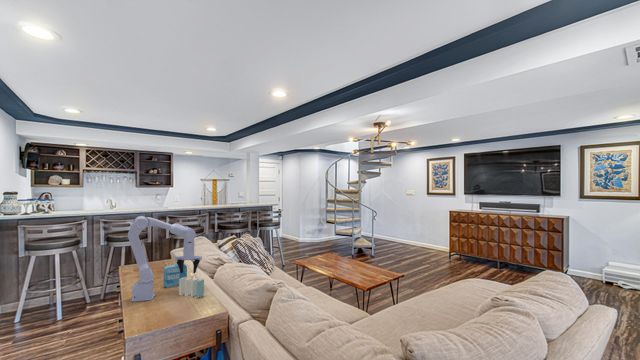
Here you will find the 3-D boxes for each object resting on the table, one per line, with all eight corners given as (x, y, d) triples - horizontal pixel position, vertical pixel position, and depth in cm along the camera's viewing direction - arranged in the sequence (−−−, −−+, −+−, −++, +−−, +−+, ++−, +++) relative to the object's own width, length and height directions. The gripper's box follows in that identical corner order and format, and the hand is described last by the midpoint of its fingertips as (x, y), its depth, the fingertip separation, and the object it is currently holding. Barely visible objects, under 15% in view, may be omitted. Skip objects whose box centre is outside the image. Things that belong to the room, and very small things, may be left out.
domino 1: (178, 295, 156) (179, 279, 156) (184, 293, 160) (184, 276, 160) (180, 295, 156) (181, 279, 156) (186, 293, 159) (186, 277, 160)
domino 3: (190, 297, 153) (191, 280, 154) (195, 294, 157) (196, 278, 158) (192, 297, 153) (192, 280, 153) (197, 294, 157) (198, 278, 157)
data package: (165, 288, 167) (165, 268, 168) (163, 286, 170) (163, 266, 171) (186, 284, 175) (187, 264, 176) (184, 282, 178) (184, 263, 179)
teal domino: (196, 298, 152) (197, 281, 153) (201, 295, 156) (202, 279, 156) (198, 298, 152) (198, 281, 152) (203, 295, 156) (204, 279, 156)
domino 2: (184, 296, 155) (185, 279, 155) (190, 293, 158) (190, 277, 159) (186, 296, 154) (186, 279, 155) (191, 294, 158) (192, 277, 158)
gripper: (172, 250, 159) (172, 274, 159) (199, 250, 160) (198, 274, 160) (178, 248, 167) (177, 271, 166) (203, 247, 167) (202, 271, 167)
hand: (188, 272), depth 163 cm, fingers open, 7 cm apart
